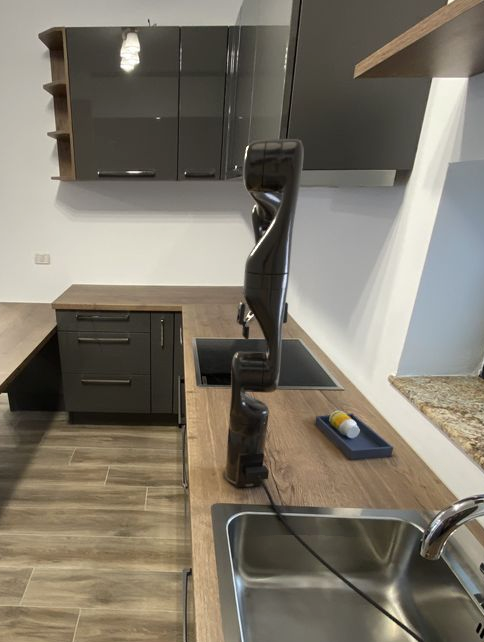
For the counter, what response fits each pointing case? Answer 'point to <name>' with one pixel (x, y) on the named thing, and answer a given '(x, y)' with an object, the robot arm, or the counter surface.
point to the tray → (356, 440)
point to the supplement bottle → (344, 424)
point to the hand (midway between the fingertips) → (260, 337)
